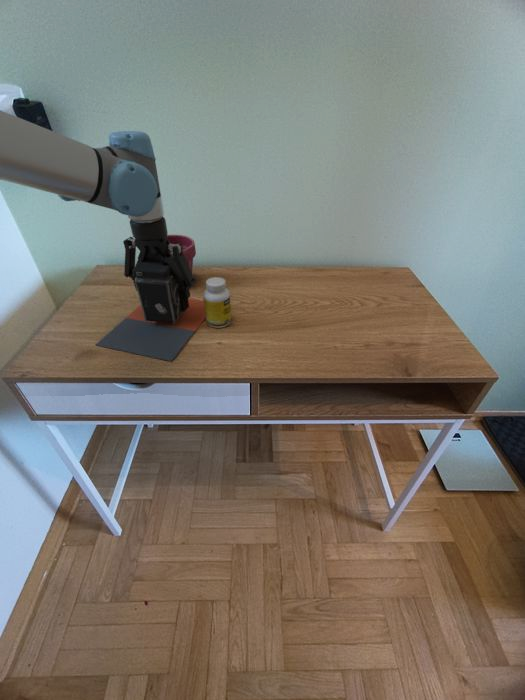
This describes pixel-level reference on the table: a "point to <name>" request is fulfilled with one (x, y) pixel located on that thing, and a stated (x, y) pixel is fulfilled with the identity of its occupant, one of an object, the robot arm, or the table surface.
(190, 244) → the flower pot
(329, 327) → the table surface
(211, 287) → the pill bottle
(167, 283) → the camera
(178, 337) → the desk mat
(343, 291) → the table surface
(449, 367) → the table surface
